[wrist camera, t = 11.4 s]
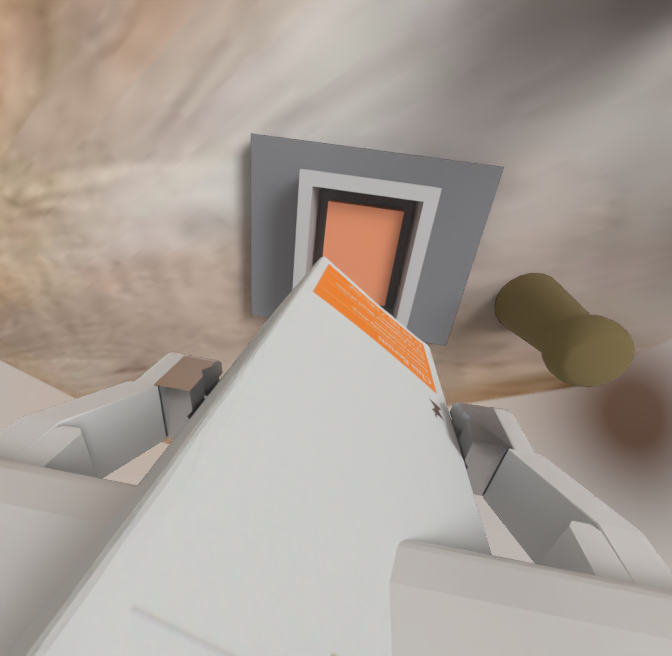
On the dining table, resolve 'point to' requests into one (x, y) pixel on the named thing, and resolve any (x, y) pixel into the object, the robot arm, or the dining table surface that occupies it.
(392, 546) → the skincare box
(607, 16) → the dining table surface
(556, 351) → the cork
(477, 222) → the switch box
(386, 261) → the button
